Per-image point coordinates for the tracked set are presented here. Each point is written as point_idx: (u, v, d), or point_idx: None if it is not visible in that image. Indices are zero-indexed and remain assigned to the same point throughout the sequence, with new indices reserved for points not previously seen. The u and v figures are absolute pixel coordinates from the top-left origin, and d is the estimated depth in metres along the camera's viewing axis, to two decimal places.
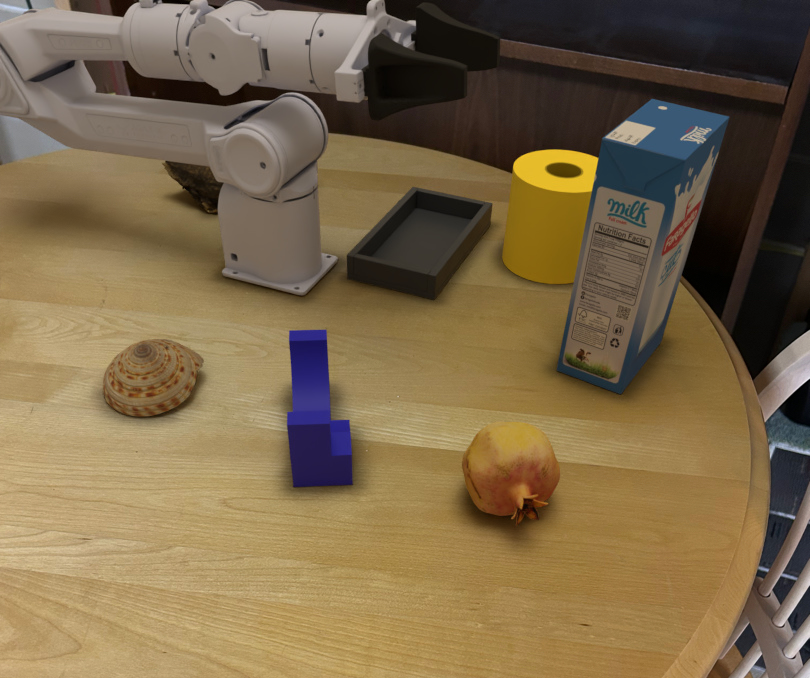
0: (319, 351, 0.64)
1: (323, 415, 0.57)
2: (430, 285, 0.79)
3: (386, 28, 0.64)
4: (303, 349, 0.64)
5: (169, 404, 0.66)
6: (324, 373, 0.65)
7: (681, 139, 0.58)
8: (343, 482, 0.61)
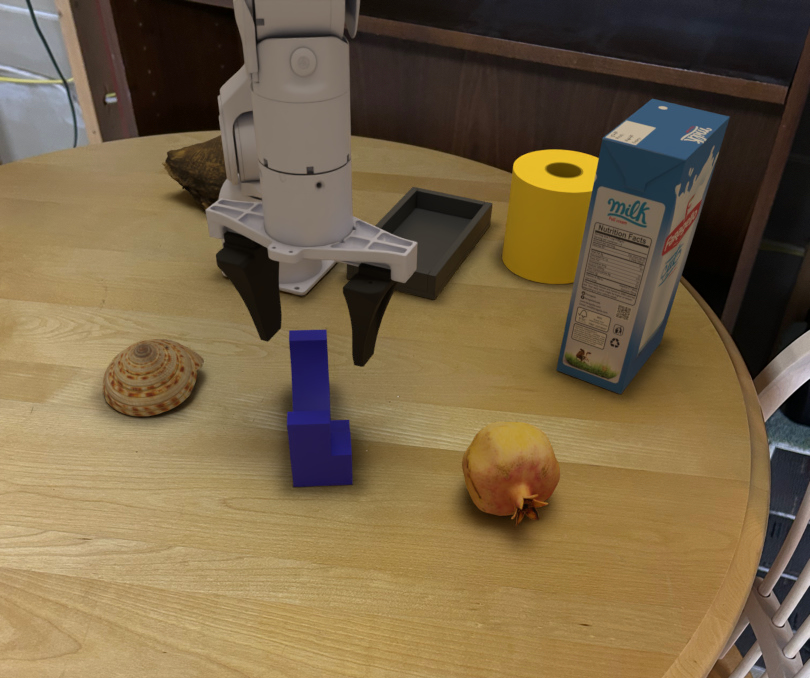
0: (319, 351, 0.64)
1: (323, 415, 0.57)
2: (430, 285, 0.79)
3: None
4: (303, 349, 0.64)
5: (169, 404, 0.66)
6: (324, 373, 0.65)
7: (681, 139, 0.58)
8: (343, 482, 0.61)
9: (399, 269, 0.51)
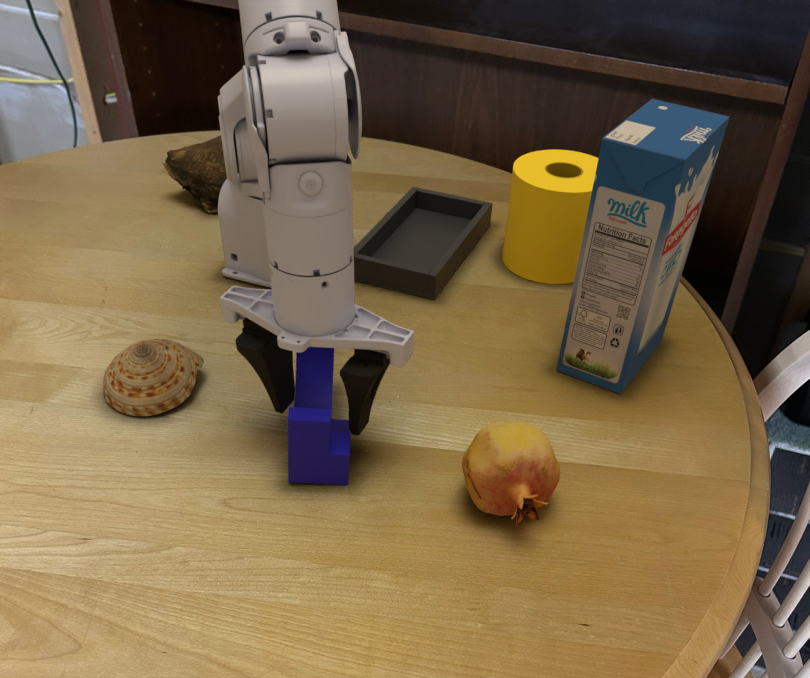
0: (326, 348, 0.64)
1: (324, 413, 0.57)
2: (430, 285, 0.79)
3: None
4: None
5: (169, 404, 0.66)
6: (329, 371, 0.65)
7: (681, 139, 0.58)
8: (338, 481, 0.61)
9: (397, 356, 0.55)
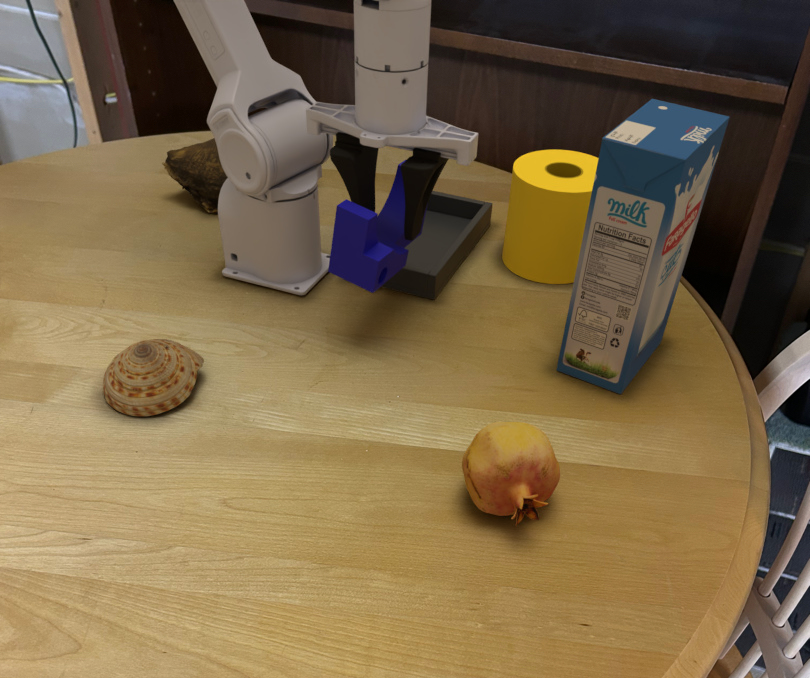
0: None
1: (370, 214, 0.65)
2: (430, 285, 0.79)
3: None
4: None
5: (169, 404, 0.66)
6: None
7: (681, 139, 0.58)
8: (366, 286, 0.68)
9: (464, 154, 0.63)
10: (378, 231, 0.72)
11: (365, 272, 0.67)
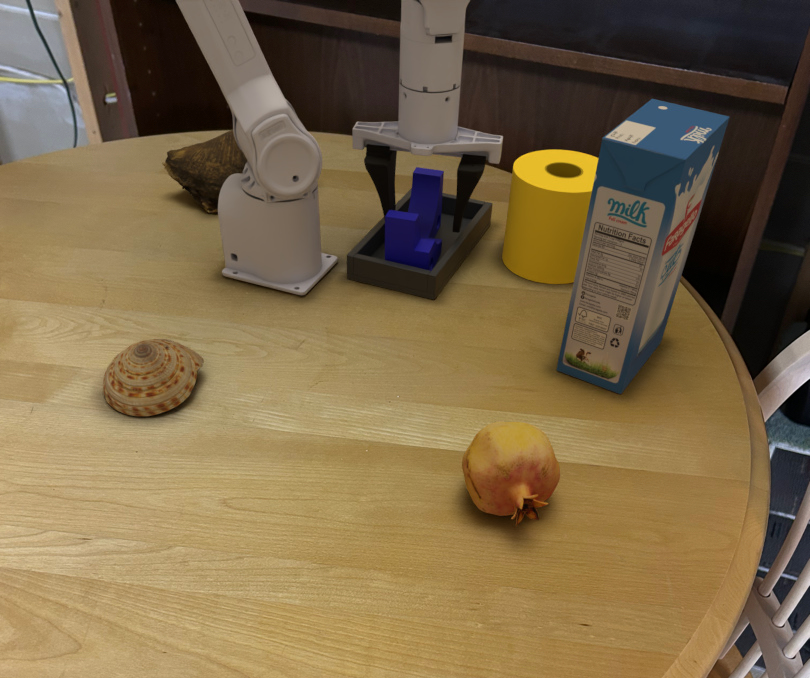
0: (433, 185, 0.85)
1: (413, 216, 0.78)
2: (430, 285, 0.79)
3: None
4: (422, 181, 0.85)
5: (169, 404, 0.66)
6: (434, 204, 0.85)
7: (681, 139, 0.58)
8: None
9: (495, 154, 0.77)
10: None
11: (418, 265, 0.80)
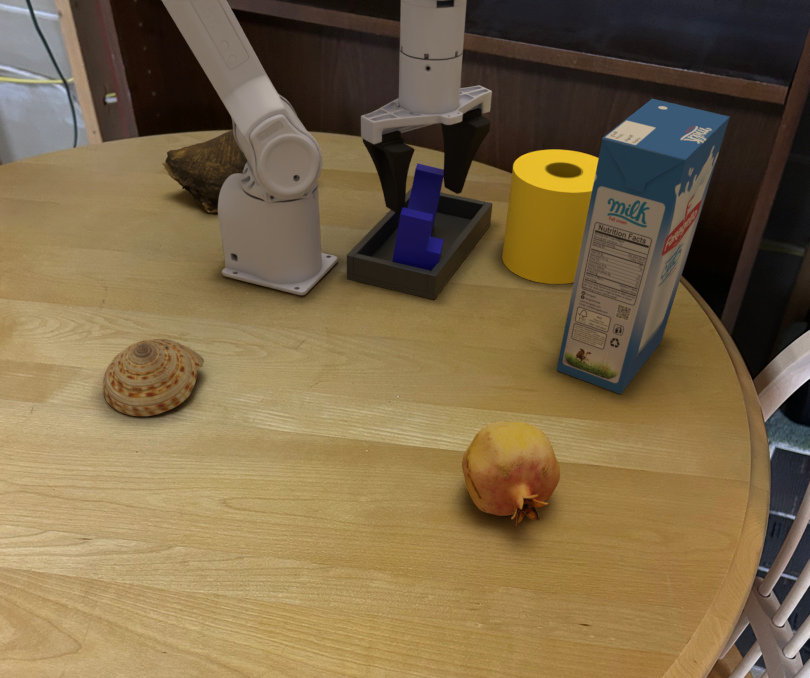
0: (435, 183, 0.84)
1: (428, 215, 0.77)
2: (430, 285, 0.79)
3: None
4: (424, 179, 0.84)
5: (169, 404, 0.66)
6: (434, 202, 0.85)
7: (681, 139, 0.58)
8: None
9: (488, 103, 0.79)
10: None
11: (427, 265, 0.80)
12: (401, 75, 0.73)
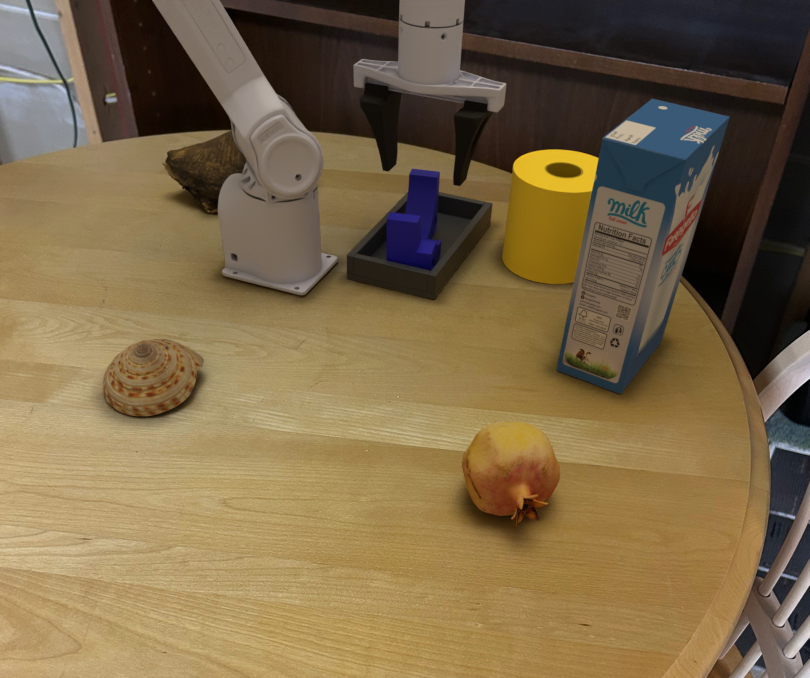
0: (430, 186, 0.84)
1: (415, 217, 0.77)
2: (430, 285, 0.79)
3: None
4: (418, 183, 0.84)
5: (169, 404, 0.66)
6: (431, 205, 0.85)
7: (681, 139, 0.58)
8: None
9: None
10: None
11: (420, 267, 0.80)
12: (454, 49, 0.71)
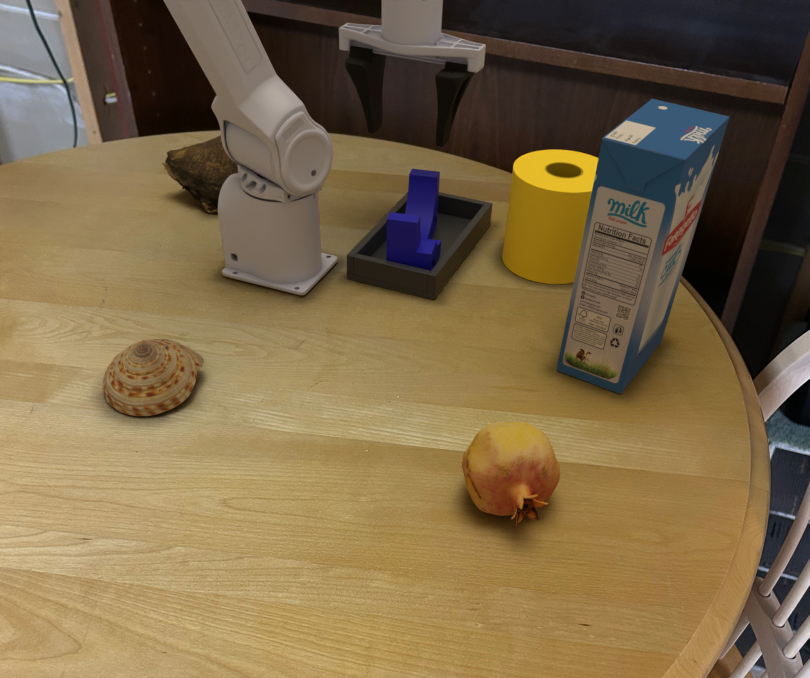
0: (430, 186, 0.84)
1: (414, 217, 0.77)
2: (430, 285, 0.79)
3: None
4: (418, 183, 0.84)
5: (169, 404, 0.66)
6: (431, 205, 0.85)
7: (681, 139, 0.58)
8: None
9: None
10: None
11: (420, 267, 0.80)
12: (435, 11, 0.74)
